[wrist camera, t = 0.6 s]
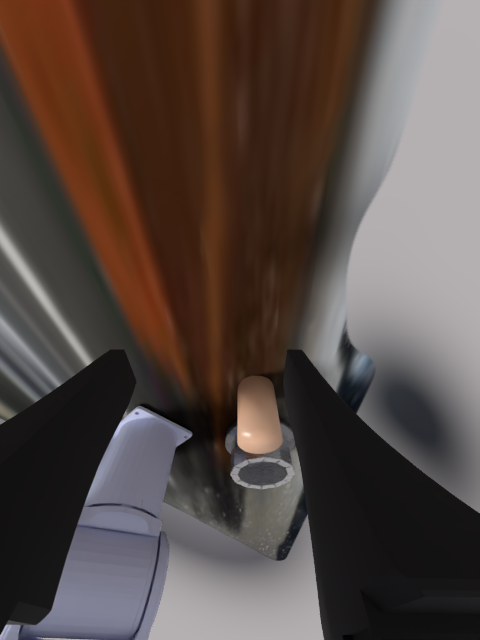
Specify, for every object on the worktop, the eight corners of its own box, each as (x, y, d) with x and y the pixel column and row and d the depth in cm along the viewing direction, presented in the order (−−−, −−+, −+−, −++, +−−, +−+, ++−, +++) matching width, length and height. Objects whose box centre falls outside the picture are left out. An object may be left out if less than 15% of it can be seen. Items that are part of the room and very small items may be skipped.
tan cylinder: (255, 405, 27) (259, 458, 21) (230, 388, 25) (228, 442, 20) (281, 388, 25) (291, 441, 20) (256, 369, 24) (260, 422, 18)
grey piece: (258, 461, 33) (260, 498, 29) (211, 437, 30) (207, 474, 26) (307, 436, 30) (317, 473, 26) (261, 405, 26) (265, 443, 23)
